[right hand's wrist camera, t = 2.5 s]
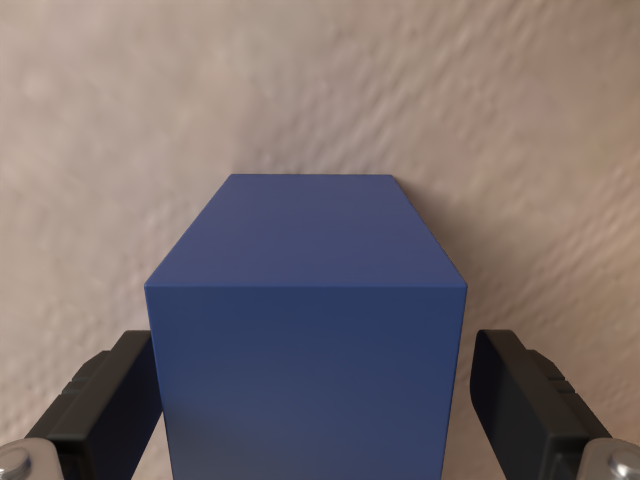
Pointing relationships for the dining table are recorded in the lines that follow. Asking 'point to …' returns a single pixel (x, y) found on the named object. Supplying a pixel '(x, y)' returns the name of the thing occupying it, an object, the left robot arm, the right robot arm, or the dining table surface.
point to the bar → (306, 333)
